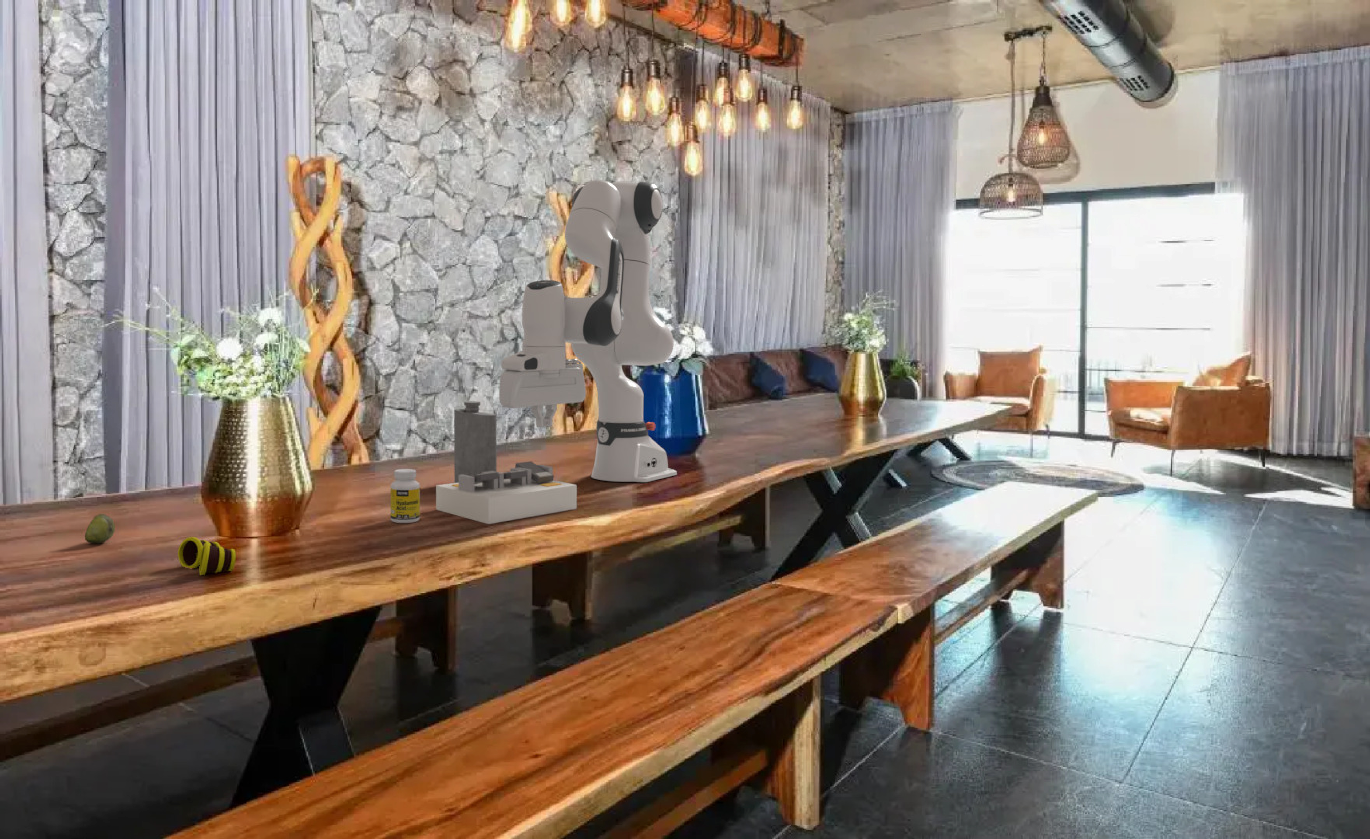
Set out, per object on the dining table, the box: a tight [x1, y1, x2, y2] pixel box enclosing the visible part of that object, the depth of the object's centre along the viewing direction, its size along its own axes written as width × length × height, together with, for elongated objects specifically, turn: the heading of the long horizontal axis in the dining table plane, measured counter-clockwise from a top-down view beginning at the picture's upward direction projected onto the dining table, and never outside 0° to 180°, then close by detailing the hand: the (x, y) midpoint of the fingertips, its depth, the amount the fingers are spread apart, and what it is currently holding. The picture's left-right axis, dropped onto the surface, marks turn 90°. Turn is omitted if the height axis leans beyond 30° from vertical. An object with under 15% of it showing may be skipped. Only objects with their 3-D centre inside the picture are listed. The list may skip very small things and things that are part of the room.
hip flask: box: [453, 400, 498, 483], centre depth 218 cm, size 16×4×20 cm, turn 42°
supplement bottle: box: [390, 468, 421, 524], centre depth 183 cm, size 5×5×10 cm
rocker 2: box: [503, 470, 527, 479], centre depth 195 cm, size 4×8×1 cm, turn 47°
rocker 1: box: [458, 471, 499, 484], centre depth 190 cm, size 4×8×1 cm, turn 47°
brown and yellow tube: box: [177, 536, 237, 576], centre depth 147 cm, size 10×5×5 cm, turn 49°
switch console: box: [435, 464, 578, 525], centre depth 195 cm, size 22×18×8 cm
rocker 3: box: [514, 461, 555, 483], centre depth 200 cm, size 4×8×1 cm, turn 47°
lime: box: [84, 513, 116, 545], centre depth 161 cm, size 4×5×5 cm
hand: (544, 426), depth 197 cm, fingers closed
